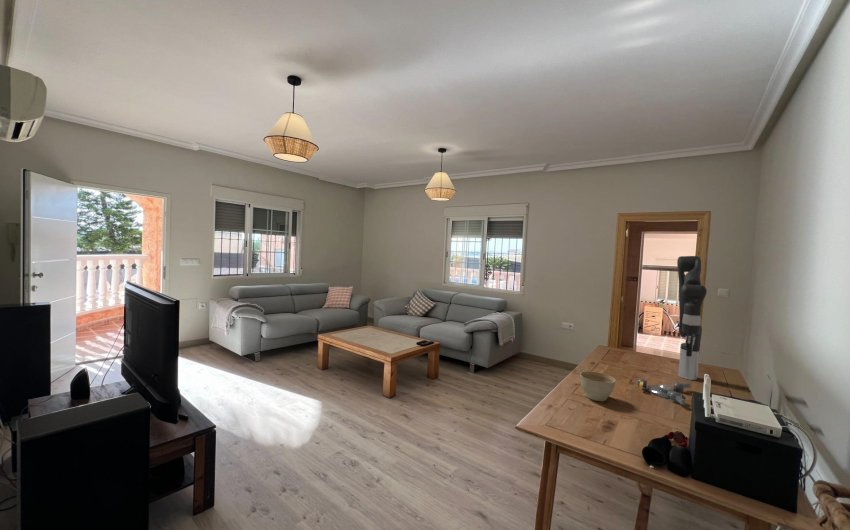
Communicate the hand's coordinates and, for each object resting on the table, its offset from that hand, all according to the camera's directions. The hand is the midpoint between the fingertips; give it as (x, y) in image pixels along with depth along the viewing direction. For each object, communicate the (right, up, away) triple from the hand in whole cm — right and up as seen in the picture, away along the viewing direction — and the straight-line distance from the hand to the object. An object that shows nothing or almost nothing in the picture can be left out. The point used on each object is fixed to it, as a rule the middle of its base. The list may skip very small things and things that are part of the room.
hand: (688, 356), depth 186 cm
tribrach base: (-12, -21, +5) cm, 24 cm away
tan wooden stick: (-20, -19, +8) cm, 29 cm away
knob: (-12, -20, -9) cm, 26 cm away
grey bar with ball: (+3, -20, +8) cm, 22 cm away
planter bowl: (-51, -20, -6) cm, 55 cm away
